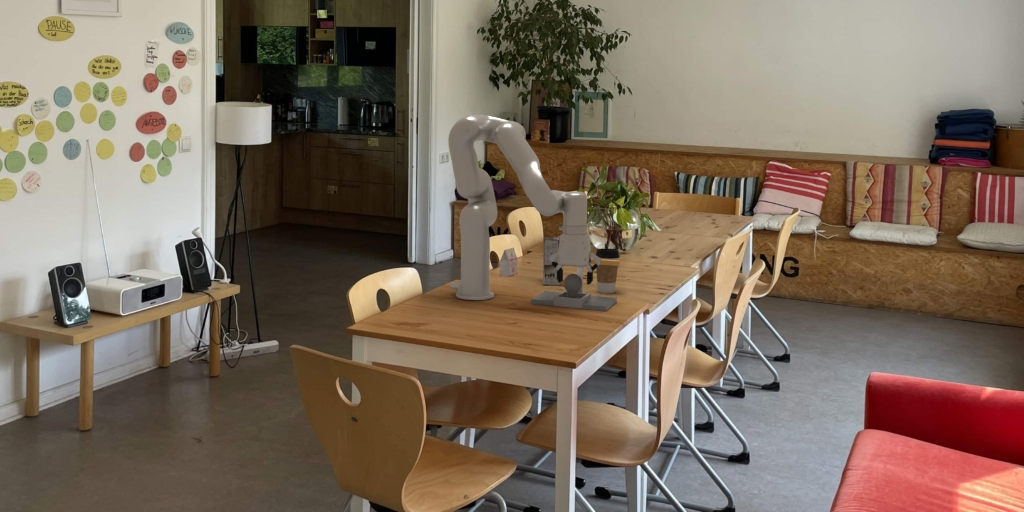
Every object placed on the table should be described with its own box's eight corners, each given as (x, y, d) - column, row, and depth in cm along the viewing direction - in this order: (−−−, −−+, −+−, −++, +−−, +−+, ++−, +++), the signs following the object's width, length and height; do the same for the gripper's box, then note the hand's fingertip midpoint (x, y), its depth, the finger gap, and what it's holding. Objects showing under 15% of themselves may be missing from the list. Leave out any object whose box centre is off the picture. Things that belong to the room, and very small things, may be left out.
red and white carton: (499, 276, 353) (500, 249, 351) (508, 273, 359) (509, 247, 357) (508, 277, 351) (508, 250, 349) (517, 274, 357) (517, 248, 355)
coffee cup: (600, 294, 323) (602, 251, 321) (589, 289, 331) (591, 247, 329) (622, 293, 327) (624, 250, 324) (611, 288, 334) (612, 246, 332)
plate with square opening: (530, 303, 308) (531, 266, 306) (544, 295, 321) (545, 259, 319) (605, 311, 299) (607, 273, 297) (616, 302, 312) (618, 265, 310)
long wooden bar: (618, 266, 308) (618, 261, 308) (575, 262, 313) (575, 258, 312) (620, 264, 311) (620, 260, 310) (577, 261, 315) (577, 257, 315)
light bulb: (565, 306, 305) (566, 276, 303) (561, 302, 311) (561, 272, 309) (583, 306, 306) (584, 275, 304) (578, 302, 312) (579, 272, 310)
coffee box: (561, 285, 338) (562, 240, 335) (543, 284, 338) (544, 240, 336) (560, 280, 347) (561, 236, 344) (542, 279, 347) (544, 236, 344)
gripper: (545, 230, 304) (545, 283, 306) (598, 233, 298) (597, 286, 300) (553, 227, 311) (552, 279, 313) (604, 230, 305) (603, 282, 307)
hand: (574, 282), depth 307 cm, fingers open, 9 cm apart
